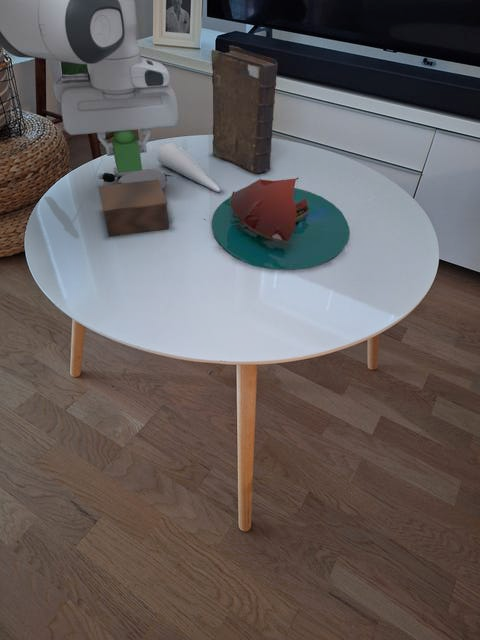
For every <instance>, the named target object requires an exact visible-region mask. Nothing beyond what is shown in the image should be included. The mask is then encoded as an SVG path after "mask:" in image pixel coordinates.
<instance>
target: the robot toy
mask: <svg viewBox="0 0 480 640" xmlns="http://www.w3.org/2000/svg"><path fill="white" fill-rule="evenodd" d="M168 177H171V178H173V177H174V174H166V173H164V172H162V171H160V170H158V169H156V168H144V169H142V171H133V172H123V173H118V171H117V167H116V166H114V167H113V173H110V172H104V173H100V174H99V175H97V179H98V180H103V182H104V183H110V184H111V183H114V182H116V183H117V184H120V183H130V182H139V181H149V180H159V182H160V185H161V187H162V190H164V188H166V186H167V182H168Z"/></svg>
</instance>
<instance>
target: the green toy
mask: <svg viewBox="0 0 480 640" xmlns="http://www.w3.org/2000/svg"><path fill="white" fill-rule="evenodd" d="M134 131H135V130H127V131H114V132H113V137H111V143H113V146H114V153H115V155H113V156H114V162H115V167H117V171H118V173H123V172H133V171H142V170H143V166H142V157H141V153H140V149H139V143H138V141H139V140H138V137H137V135H135V132H134Z"/></svg>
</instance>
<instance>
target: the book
mask: <svg viewBox="0 0 480 640" xmlns="http://www.w3.org/2000/svg"><path fill="white" fill-rule="evenodd" d="M210 53H211V71H212V76H211V83H212V119H213V120H212V135H213V136H212V137H213V138H212V155H213V156H215V157H217V158H218V159H221V160H224V161H227V162H229V163H231V164H233V165H236V166H238V167H240V168H242V169H244V170H245V171H246V172H247V171H248V172H249V173H251V174H259V173H264V172H267V171H269V170H271V155H272V154H271V153H272V139H273V123H274V120H275V119H274V111H275V109H274V108H275V103H276V101H275V98H276V97H275V96H276V86H277V76H278V74H277V73H278V64H279V63H278V62H277V60H276V59H275V58H272V57H268V56H265V55H262V54H258V53H255V52H251V51H249V50H245V49H243V48H241V47H239V46H234V45H229V47H228V52H222V51H218V50H215V49H211V52H210Z"/></svg>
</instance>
